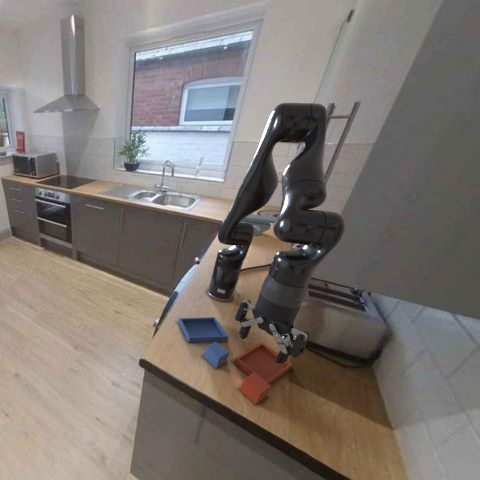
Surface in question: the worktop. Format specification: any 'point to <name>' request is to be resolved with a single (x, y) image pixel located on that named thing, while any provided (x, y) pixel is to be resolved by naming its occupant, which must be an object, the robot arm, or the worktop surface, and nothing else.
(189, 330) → the blue tray
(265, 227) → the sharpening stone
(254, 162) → the robot arm
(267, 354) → the rust tray
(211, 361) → the blue block
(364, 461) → the worktop surface
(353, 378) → the worktop surface
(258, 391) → the rust block
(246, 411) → the worktop surface
